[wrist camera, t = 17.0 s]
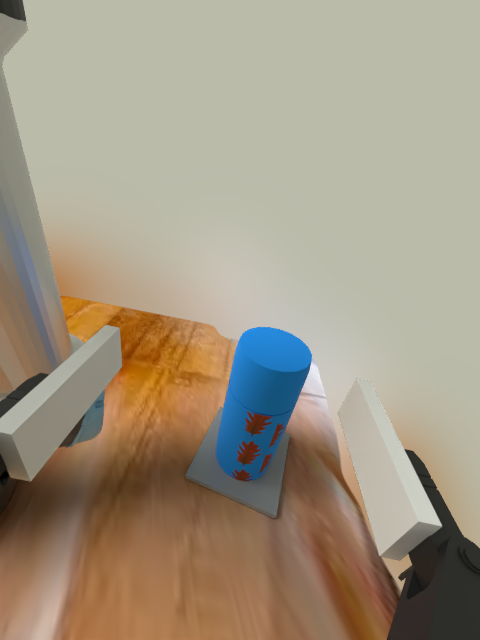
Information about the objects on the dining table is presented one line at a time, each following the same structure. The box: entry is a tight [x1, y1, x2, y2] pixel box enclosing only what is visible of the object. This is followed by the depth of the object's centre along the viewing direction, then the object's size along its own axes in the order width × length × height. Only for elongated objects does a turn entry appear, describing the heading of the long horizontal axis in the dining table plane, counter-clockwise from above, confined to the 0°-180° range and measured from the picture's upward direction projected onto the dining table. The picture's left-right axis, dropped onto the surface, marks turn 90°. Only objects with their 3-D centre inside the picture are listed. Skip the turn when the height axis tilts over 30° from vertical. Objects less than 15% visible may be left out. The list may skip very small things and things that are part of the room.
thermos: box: [216, 327, 312, 481], centre depth 42 cm, size 11×11×25 cm
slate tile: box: [185, 407, 290, 519], centre depth 49 cm, size 16×16×1 cm
